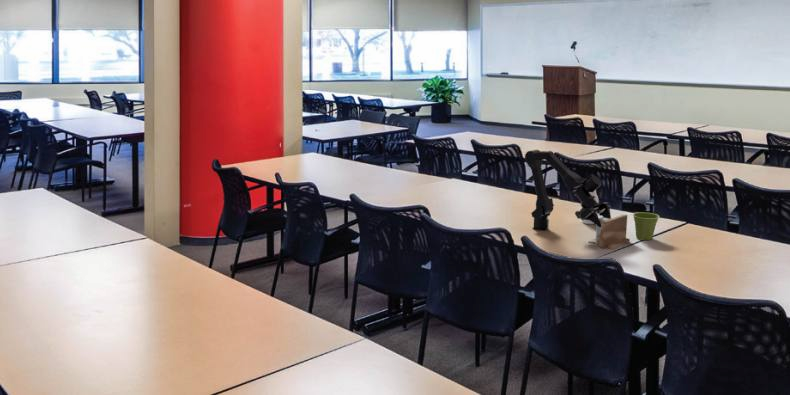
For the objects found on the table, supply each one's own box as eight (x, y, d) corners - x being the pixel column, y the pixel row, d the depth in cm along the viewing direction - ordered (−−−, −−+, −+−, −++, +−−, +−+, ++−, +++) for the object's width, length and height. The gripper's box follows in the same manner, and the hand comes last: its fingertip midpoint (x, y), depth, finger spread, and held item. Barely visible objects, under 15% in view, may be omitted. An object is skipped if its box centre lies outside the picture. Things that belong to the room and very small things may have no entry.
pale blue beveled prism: (595, 240, 335) (596, 218, 333) (601, 238, 339) (602, 217, 336) (605, 242, 332) (606, 220, 329) (611, 240, 335) (612, 218, 333)
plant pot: (630, 240, 337) (631, 217, 335) (632, 234, 348) (633, 211, 346) (657, 242, 333) (658, 219, 331) (658, 236, 344) (659, 213, 341)
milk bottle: (598, 221, 373) (600, 183, 368) (597, 225, 365) (599, 186, 361) (582, 220, 375) (584, 182, 371) (581, 223, 368) (583, 185, 364)
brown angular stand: (583, 244, 331) (584, 218, 329) (605, 235, 345) (606, 211, 343) (609, 249, 322) (611, 223, 320) (631, 241, 336) (633, 216, 333)
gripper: (585, 205, 350) (604, 231, 344) (564, 211, 337) (583, 238, 332) (600, 191, 343) (620, 218, 337) (579, 197, 330) (600, 225, 324)
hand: (606, 225), depth 333 cm, fingers open, 9 cm apart
